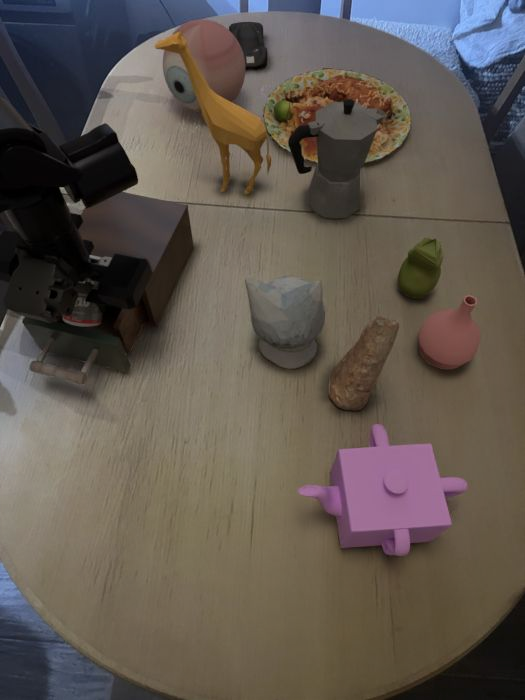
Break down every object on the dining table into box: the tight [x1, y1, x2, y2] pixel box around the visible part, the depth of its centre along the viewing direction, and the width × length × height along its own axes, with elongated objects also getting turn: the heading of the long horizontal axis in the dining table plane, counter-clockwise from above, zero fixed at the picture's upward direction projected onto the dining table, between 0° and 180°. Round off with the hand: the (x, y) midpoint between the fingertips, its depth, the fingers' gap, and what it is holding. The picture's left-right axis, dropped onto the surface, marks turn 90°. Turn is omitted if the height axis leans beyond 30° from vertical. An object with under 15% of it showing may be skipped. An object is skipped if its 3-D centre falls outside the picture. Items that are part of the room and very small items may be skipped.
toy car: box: [228, 21, 268, 72], centre depth 109 cm, size 7×15×4 cm, turn 5°
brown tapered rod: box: [327, 315, 400, 412], centre depth 60 cm, size 6×18×6 cm
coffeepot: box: [288, 99, 387, 220], centre depth 79 cm, size 15×9×18 cm, turn 110°
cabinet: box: [78, 191, 195, 328], centre depth 74 cm, size 16×14×9 cm
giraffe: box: [154, 29, 272, 195], centre depth 78 cm, size 16×4×25 cm, turn 79°
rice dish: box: [262, 67, 412, 165], centre depth 96 cm, size 28×28×5 cm
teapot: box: [298, 423, 469, 557], centre depth 56 cm, size 18×14×10 cm
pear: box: [397, 237, 444, 299], centre depth 73 cm, size 6×5×10 cm
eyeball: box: [162, 18, 246, 114], centre depth 94 cm, size 15×15×15 cm
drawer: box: [21, 296, 148, 386], centre depth 68 cm, size 20×13×7 cm, turn 164°
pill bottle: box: [62, 255, 102, 327], centre depth 65 cm, size 5×5×8 cm
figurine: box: [244, 275, 326, 370], centre depth 65 cm, size 10×9×15 cm
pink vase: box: [417, 295, 482, 370], centre depth 66 cm, size 8×8×12 cm
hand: (89, 309), depth 67 cm, fingers closed on pill bottle, 5 cm apart
